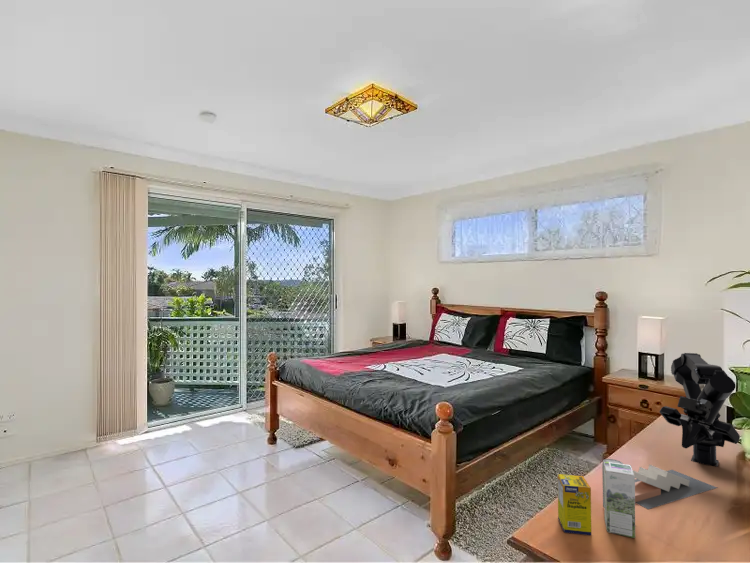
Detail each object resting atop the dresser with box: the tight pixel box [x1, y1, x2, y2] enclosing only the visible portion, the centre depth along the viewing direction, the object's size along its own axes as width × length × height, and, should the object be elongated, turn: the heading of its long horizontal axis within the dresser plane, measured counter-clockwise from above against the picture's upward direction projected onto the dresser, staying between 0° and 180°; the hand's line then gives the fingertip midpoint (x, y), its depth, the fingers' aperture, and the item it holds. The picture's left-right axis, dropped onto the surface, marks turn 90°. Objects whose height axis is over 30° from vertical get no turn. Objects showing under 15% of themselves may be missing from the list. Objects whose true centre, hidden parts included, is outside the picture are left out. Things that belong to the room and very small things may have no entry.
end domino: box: [635, 481, 661, 502], centre depth 110 cm, size 2×5×10 cm
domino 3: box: [647, 464, 690, 486], centre depth 114 cm, size 2×5×10 cm
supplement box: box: [557, 473, 592, 536], centre depth 96 cm, size 6×6×11 cm
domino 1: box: [633, 470, 671, 492], centre depth 111 cm, size 2×5×10 cm
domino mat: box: [635, 469, 718, 510], centre depth 113 cm, size 28×12×1 cm, turn 112°
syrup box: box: [603, 461, 636, 539], centre depth 95 cm, size 6×6×14 cm
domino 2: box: [637, 466, 680, 489], centre depth 113 cm, size 2×5×10 cm
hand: (683, 447), depth 118 cm, fingers closed
